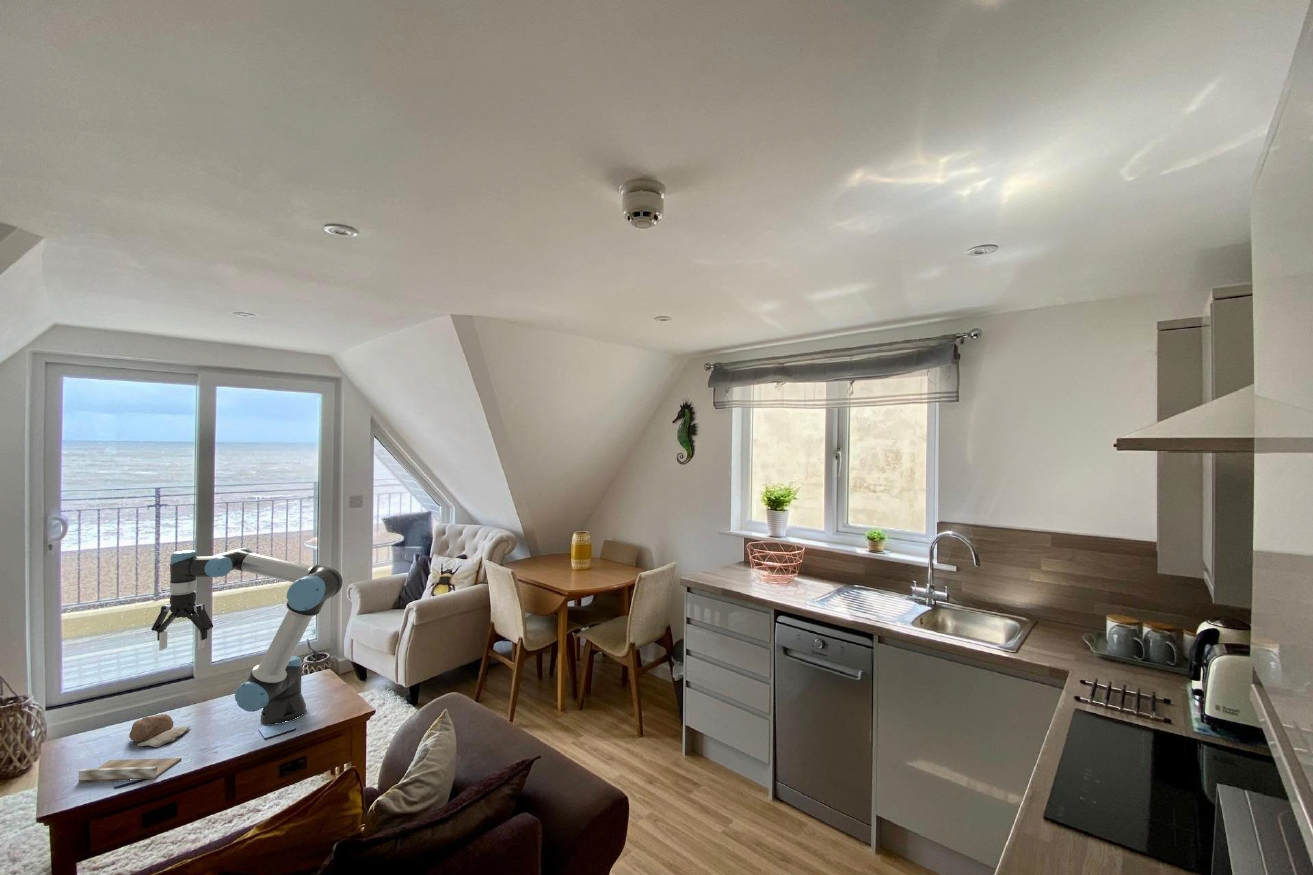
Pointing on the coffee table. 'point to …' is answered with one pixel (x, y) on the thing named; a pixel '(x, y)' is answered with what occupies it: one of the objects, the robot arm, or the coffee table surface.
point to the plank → (128, 770)
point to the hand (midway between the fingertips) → (182, 648)
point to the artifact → (165, 737)
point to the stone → (150, 727)
